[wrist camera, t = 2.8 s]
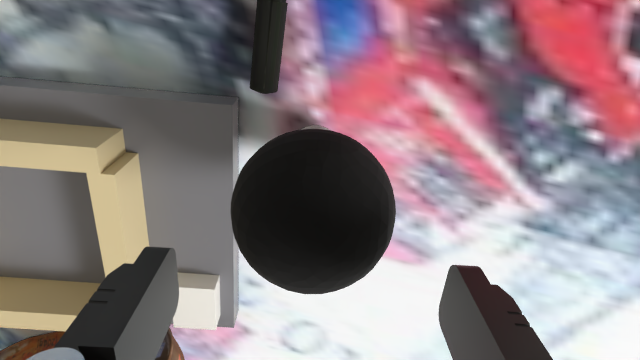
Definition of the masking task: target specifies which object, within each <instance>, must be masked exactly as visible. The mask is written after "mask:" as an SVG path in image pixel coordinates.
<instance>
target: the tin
mask: <svg viewBox="0 0 640 360" xmlns="http://www.w3.org/2000/svg"><path fill="white" fill-rule="evenodd" d="M65 332H66V331H57V332H53V333H48V334H44V335H39V336H35V337H31V338H28V339H25V340H22V341H20V342H18V343H15V344H13V345H11V346H9V347H7V348H5V349H3V350H2V351H0V360H26V359H28V358H30V357H31V356H33V355H35V354H37V353H40V352H42V351H45V350H48V349H53V348H54V346H55V345H56V344H57V342H58V341H59V340H60V338H61V337H62V336H63V334H64V333H65ZM155 360H185V359H184V356H183V353H182V351H181V349H180V347H179V345H178V343H177V342H176V340H175V339H174V337H173V336H172V332H171V330H170V328H169V329H168V331H167V333H166V336H165V338H164V340H163V342H162V345H161V347H160V349H159V351H158V354H157V356H156V358H155Z"/></svg>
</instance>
